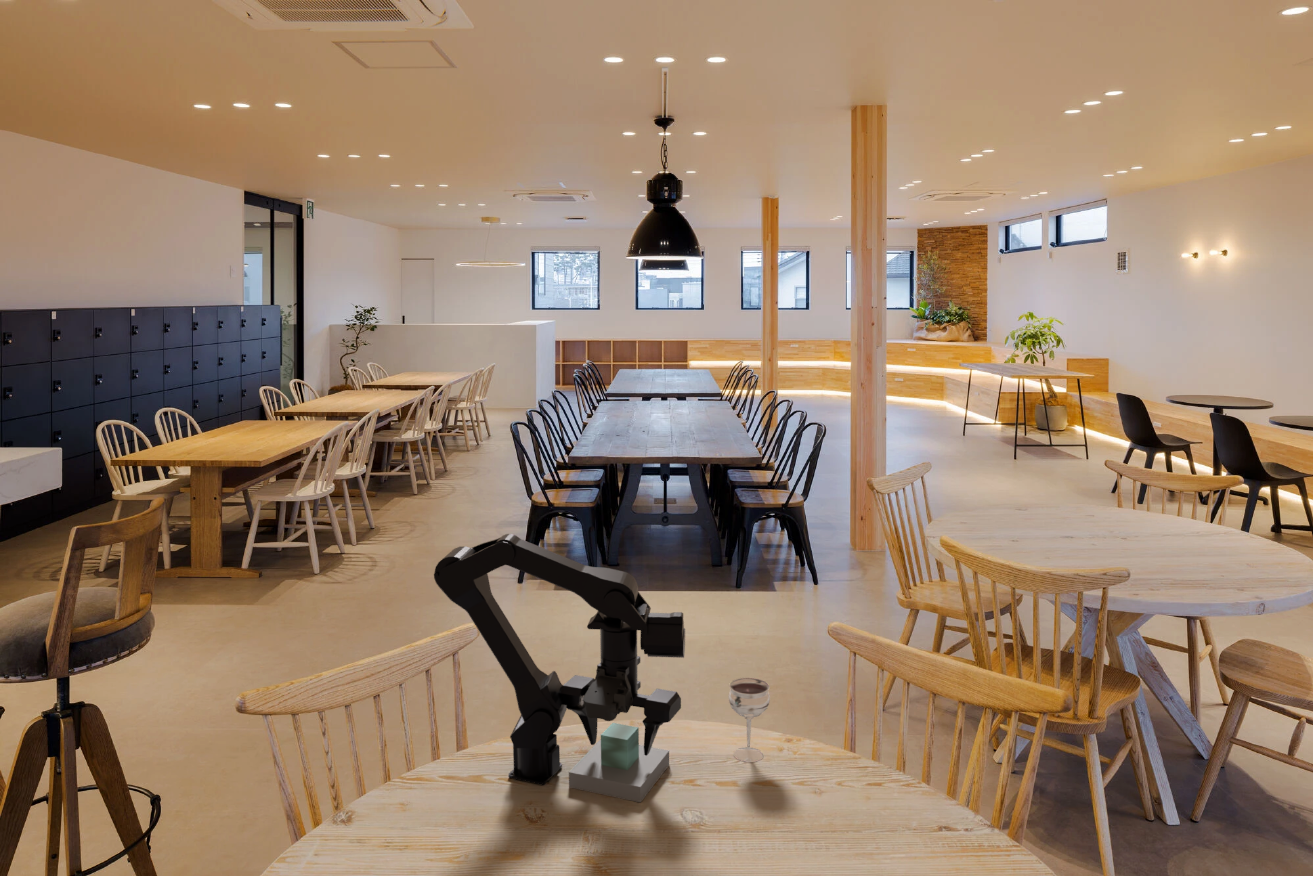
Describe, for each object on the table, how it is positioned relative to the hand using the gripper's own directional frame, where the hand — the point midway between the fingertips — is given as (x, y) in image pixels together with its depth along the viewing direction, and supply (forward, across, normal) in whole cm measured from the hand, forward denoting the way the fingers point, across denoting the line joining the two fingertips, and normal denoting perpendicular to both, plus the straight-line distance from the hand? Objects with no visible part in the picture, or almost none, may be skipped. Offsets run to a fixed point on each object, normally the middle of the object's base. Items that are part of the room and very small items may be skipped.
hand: (619, 749), depth 143 cm
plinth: (+4, 0, 0) cm, 4 cm away
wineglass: (+5, +17, +14) cm, 23 cm away
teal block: (+2, 0, 0) cm, 2 cm away
